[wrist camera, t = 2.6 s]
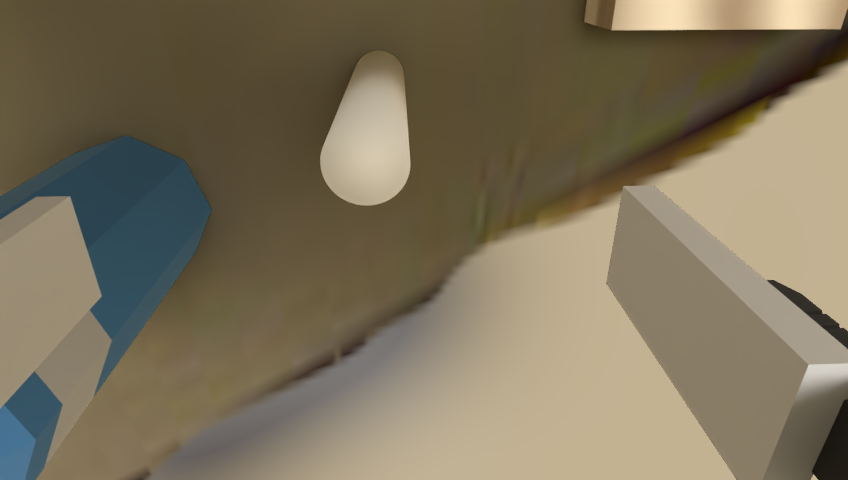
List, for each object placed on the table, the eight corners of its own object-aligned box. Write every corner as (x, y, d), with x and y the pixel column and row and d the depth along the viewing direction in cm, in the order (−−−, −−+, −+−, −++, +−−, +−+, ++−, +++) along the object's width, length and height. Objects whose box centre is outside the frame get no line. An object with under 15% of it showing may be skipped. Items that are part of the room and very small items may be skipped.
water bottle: (217, 270, 38) (-41, 709, 15) (77, 263, 37) (-404, 712, 15) (204, 140, 34) (-174, 483, 11) (46, 130, 33) (-690, 474, 11)
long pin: (355, 102, 33) (324, 206, 19) (352, 50, 32) (316, 119, 17) (404, 102, 33) (410, 204, 19) (403, 50, 32) (409, 119, 17)
